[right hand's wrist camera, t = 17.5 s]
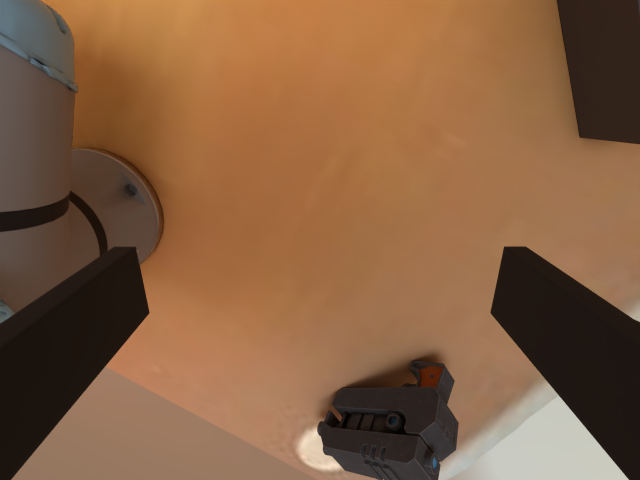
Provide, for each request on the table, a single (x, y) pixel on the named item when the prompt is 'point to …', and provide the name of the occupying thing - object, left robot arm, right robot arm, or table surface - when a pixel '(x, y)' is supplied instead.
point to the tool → (394, 427)
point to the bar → (604, 66)
